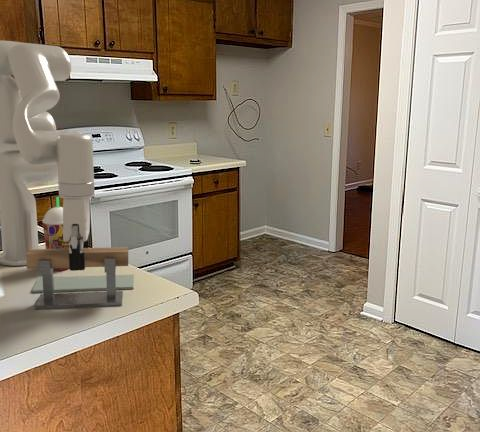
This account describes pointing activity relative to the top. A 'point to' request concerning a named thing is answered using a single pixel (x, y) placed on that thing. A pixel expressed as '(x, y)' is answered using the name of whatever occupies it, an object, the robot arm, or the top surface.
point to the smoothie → (54, 229)
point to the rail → (92, 255)
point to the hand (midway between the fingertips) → (79, 263)
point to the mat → (85, 283)
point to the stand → (78, 299)
